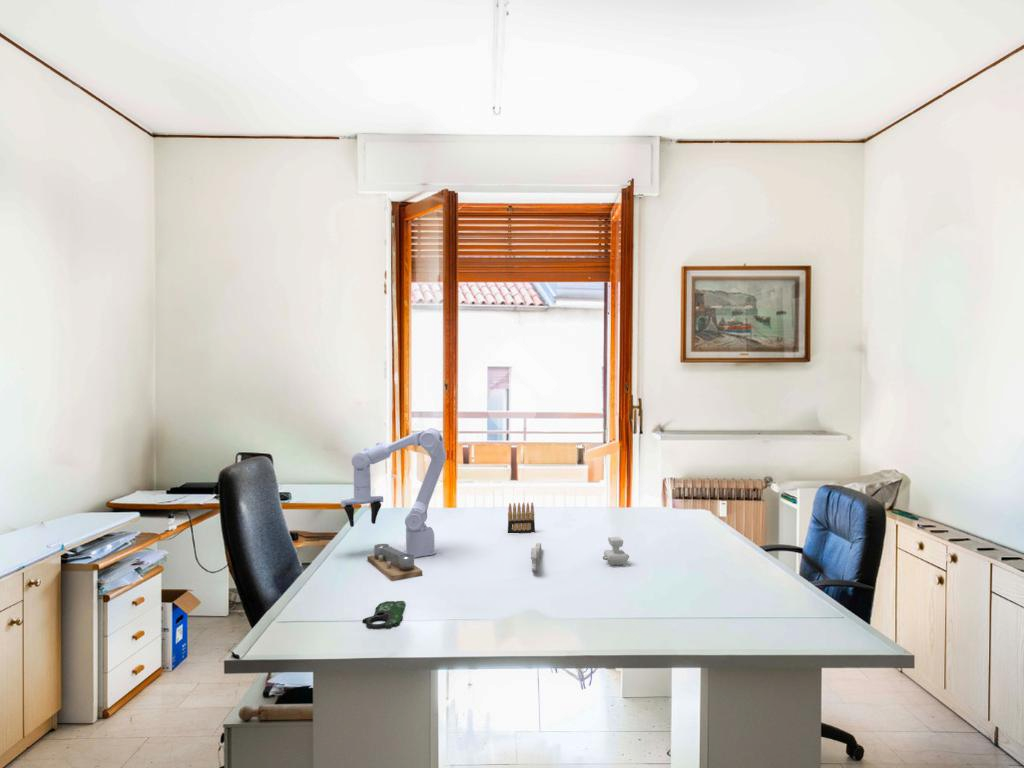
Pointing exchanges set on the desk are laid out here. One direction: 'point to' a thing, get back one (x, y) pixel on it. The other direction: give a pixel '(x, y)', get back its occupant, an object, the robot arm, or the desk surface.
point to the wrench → (535, 556)
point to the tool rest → (393, 569)
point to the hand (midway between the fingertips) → (362, 524)
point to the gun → (386, 615)
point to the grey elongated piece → (394, 557)
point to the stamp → (615, 552)
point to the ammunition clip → (521, 519)
